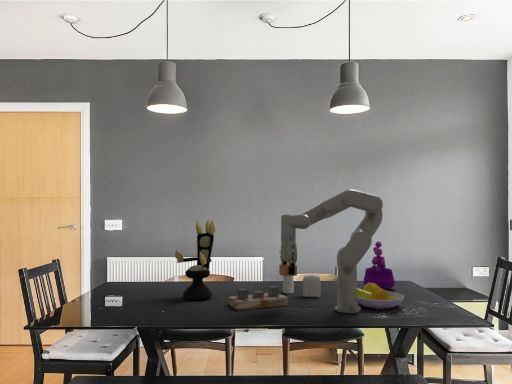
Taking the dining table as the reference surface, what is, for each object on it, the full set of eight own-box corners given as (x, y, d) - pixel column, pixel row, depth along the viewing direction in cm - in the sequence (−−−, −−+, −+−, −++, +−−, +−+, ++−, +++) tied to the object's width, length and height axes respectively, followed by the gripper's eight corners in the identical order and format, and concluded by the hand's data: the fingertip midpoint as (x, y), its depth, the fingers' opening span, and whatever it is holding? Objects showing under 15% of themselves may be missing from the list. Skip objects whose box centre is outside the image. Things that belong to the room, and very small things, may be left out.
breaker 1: (248, 300, 209) (248, 289, 209) (240, 301, 207) (240, 290, 207) (244, 298, 213) (244, 288, 213) (237, 299, 211) (237, 289, 211)
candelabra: (173, 299, 226) (174, 219, 228) (197, 292, 246) (197, 218, 247) (201, 303, 217) (201, 219, 219) (223, 295, 237) (223, 218, 238)
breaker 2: (263, 302, 212) (263, 292, 212) (256, 303, 211) (256, 292, 211) (260, 300, 216) (260, 290, 217) (252, 301, 215) (252, 291, 215)
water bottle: (294, 291, 246) (294, 250, 247) (292, 293, 239) (292, 251, 240) (280, 290, 248) (280, 250, 249) (278, 293, 242) (278, 251, 243)
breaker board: (288, 305, 212) (288, 296, 212) (238, 310, 201) (238, 301, 201) (276, 299, 225) (276, 290, 226) (229, 304, 214) (229, 295, 214)
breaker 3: (279, 297, 216) (278, 287, 216) (271, 298, 214) (271, 287, 214) (275, 295, 220) (275, 285, 220) (268, 296, 218) (268, 286, 218)
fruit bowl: (407, 303, 215) (407, 282, 216) (397, 315, 192) (397, 291, 192) (356, 297, 229) (356, 277, 230) (340, 308, 206) (340, 285, 206)
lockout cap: (296, 275, 204) (296, 265, 204) (285, 276, 201) (285, 266, 202) (290, 273, 210) (290, 264, 210) (279, 274, 208) (279, 264, 208)
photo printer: (320, 295, 234) (320, 274, 234) (321, 297, 230) (320, 275, 230) (302, 295, 235) (302, 274, 235) (302, 297, 231) (302, 275, 231)
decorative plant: (399, 292, 242) (398, 242, 243) (368, 292, 243) (367, 242, 244) (389, 286, 261) (388, 240, 262) (360, 286, 261) (360, 240, 263)
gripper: (303, 239, 200) (303, 275, 199) (286, 237, 216) (286, 270, 215) (290, 240, 197) (289, 276, 196) (274, 237, 213) (273, 271, 212)
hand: (288, 273), depth 206 cm, fingers closed on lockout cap, 6 cm apart
